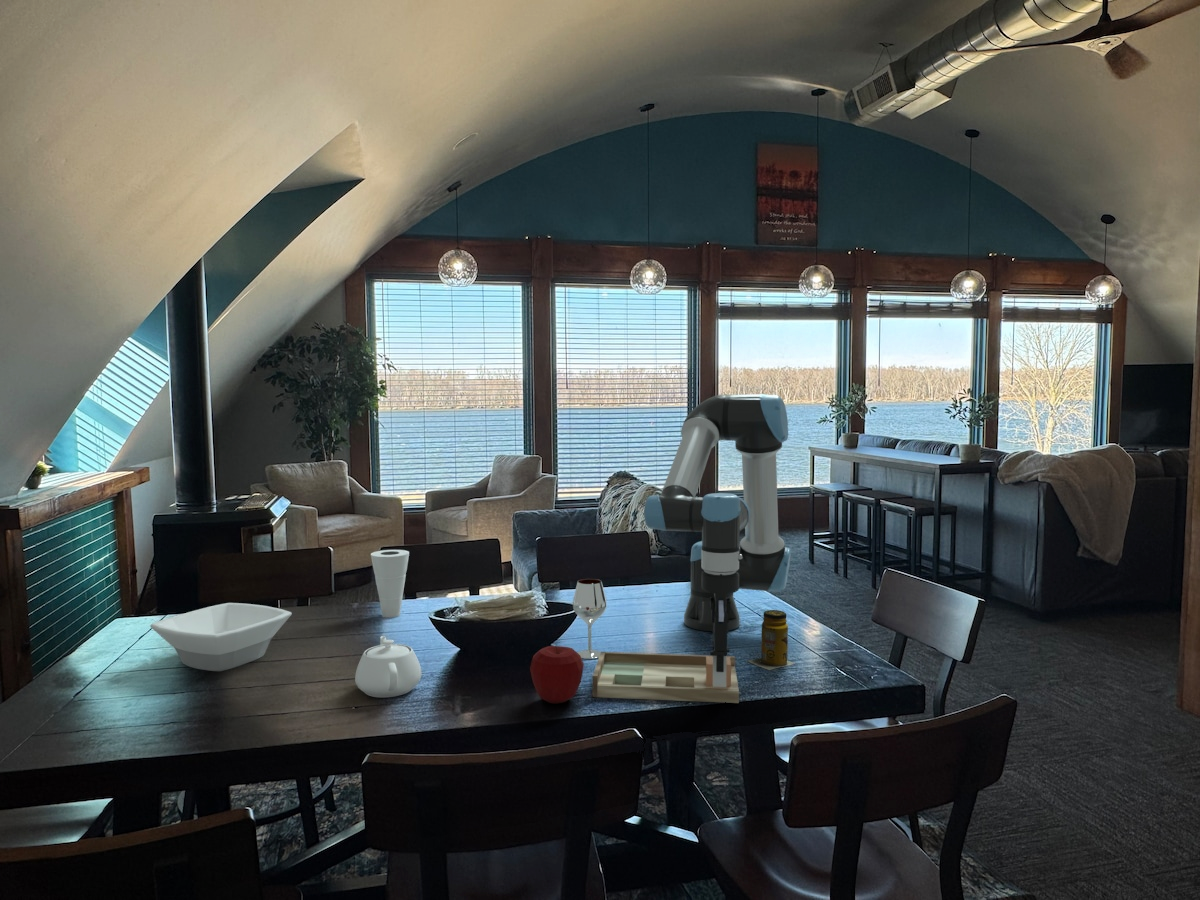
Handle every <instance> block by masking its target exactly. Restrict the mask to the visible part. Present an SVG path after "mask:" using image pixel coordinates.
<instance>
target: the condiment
mask: <svg viewBox="0 0 1200 900" xmlns="http://www.w3.org/2000/svg"><path fill="white" fill-rule="evenodd" d="M762 619H763V621H762V623H761V639H760V640H761V643H760V644H761V647H760V648H761V651H760V653H761V655H760V657H757V658H754V659H748V660H747V662H749V663H751V664H752V665H755V666H756V667H759V668H762V669H765V670H767V671H771V670H775V669H779V668H784V667H789V666H792V665H795V664H796V662H794V661H789V660H788V644H789V643H788V641H789V639H788V638H789V636H788V633H789V628H788V627H789V625H788V623H787V613H786V612H784V611H783V610H778V609H770V610H769V609H767V610H764V612H763V618H762Z"/></svg>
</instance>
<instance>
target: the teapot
mask: <svg viewBox="0 0 1200 900" xmlns="http://www.w3.org/2000/svg"><path fill="white" fill-rule="evenodd" d="M379 639H380V640H379V644H378V645H375V646H372V647H369V648H367V649H366V650H364V652H362V655H361V657H360V660H359V663H358V665H357V667H356V671H355V675H354V677H355V678H354V680H355V682H354V683H355V685H356V686H357V688H358V689H359V690H360V691H361V692H363V693H364V694H365V695H367V696H369V697H373V698H394V697H398V696H402V695H405V694H407V693H409V692H411V691H412V690H413V689H414V688H415V687H416V686H417V685H418V683H420V681H421V679H422V667H421V664H420V661H419V659H418V657H417V655H416V653H415V651H414V649H413V647H411V646H409V645H406V644H402V643H395V641H394V640H393V639H387V638H386V636H385V635H381V636H380V637H379Z"/></svg>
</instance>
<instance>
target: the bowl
mask: <svg viewBox="0 0 1200 900" xmlns="http://www.w3.org/2000/svg"><path fill="white" fill-rule="evenodd" d="M291 616H292V611H289V610H286V609H282V608H277V607H272V606H268V605H262V604H261V605H260V604H254V603H253V604H251V603H241V602H240V603H239V602H226V603H220V604H215V605H212V606H210V605H209V606H207V607H203V608H199V609H195V610H192V611H188V612H186V613H181V614H178V615H175V616H170V617H166V618H163V619H161V620H158V621H155V622H153V623H151V624H150V628H151V629H152V630H153V631H154V632H155V633H157V635H158V636H160V637H161V638H162V639H163V640H165V641H166V642H167V643H168V644H169V645H170V646H171V647H173V648H174V649H175V652H176V653H177V655H178V657H179V660H181V663H182V664H183V665H185V666H187V667H189V668H193V669H197V670H203V671H209V672H210V671H211V672H224V671H228V670H231V669H234V668H237V667H240V666H242V665H246V664H248V663H250V662H254V661H256V660H259V659H260V658H262V657H263V656H264V655H265V654H266V652H267V650H268V647H269V644H270V642H271V640H272V638H273V637H274V636H275V635H276V634H277V632H278V631H279V630H280V629H281V628H282V626H284V624H286V622H287V621H288V619H289V618H290V617H291Z"/></svg>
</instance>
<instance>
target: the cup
mask: <svg viewBox="0 0 1200 900" xmlns="http://www.w3.org/2000/svg"><path fill="white" fill-rule="evenodd" d="M409 556H410V551H409V550H405V549H382V550H377V551H373V552H371V553H370V558H371V562H372V563H371V564H372V568H373V573H374V579H375V584H376V588H377V595H378V600H379V605H380V609H381V614H382V615H381V616H382V617H383V618H387V619H389V618H391V619H392V618H397V617H399V616H400V615H401V611H402V603H403V594H404V588H405V582H406V576H407V574H406V573H407V570H408V564H409Z"/></svg>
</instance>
